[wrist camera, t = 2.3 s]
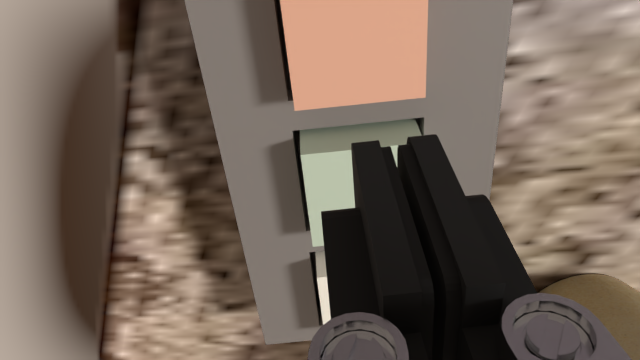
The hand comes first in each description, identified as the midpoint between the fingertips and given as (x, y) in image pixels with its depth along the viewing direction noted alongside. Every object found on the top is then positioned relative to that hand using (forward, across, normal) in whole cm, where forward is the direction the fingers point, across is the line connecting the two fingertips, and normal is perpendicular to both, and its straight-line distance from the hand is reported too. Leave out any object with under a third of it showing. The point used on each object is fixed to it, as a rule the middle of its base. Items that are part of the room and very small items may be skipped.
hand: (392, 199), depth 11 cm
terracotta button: (+12, 0, 0) cm, 12 cm away
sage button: (+12, 0, +7) cm, 14 cm away
